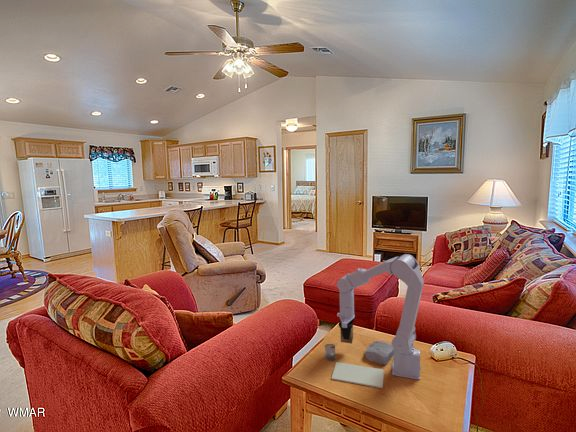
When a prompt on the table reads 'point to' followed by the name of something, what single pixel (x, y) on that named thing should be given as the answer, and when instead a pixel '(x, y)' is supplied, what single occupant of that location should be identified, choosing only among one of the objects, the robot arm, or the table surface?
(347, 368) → the sage mat
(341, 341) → the walnut block
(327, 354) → the steel cylinder
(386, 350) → the stone block
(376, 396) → the table surface
